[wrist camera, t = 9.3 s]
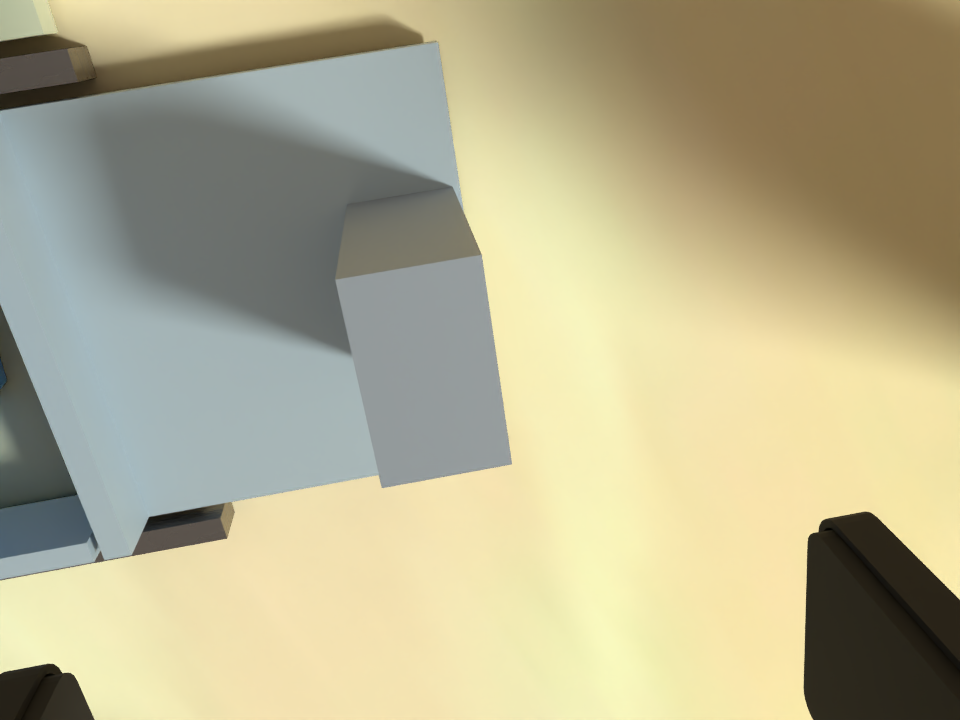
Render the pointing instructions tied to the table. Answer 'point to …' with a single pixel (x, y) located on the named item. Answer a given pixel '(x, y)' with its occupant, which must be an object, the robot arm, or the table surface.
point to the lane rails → (159, 528)
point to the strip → (25, 19)
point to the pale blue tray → (242, 294)
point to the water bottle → (2, 375)
